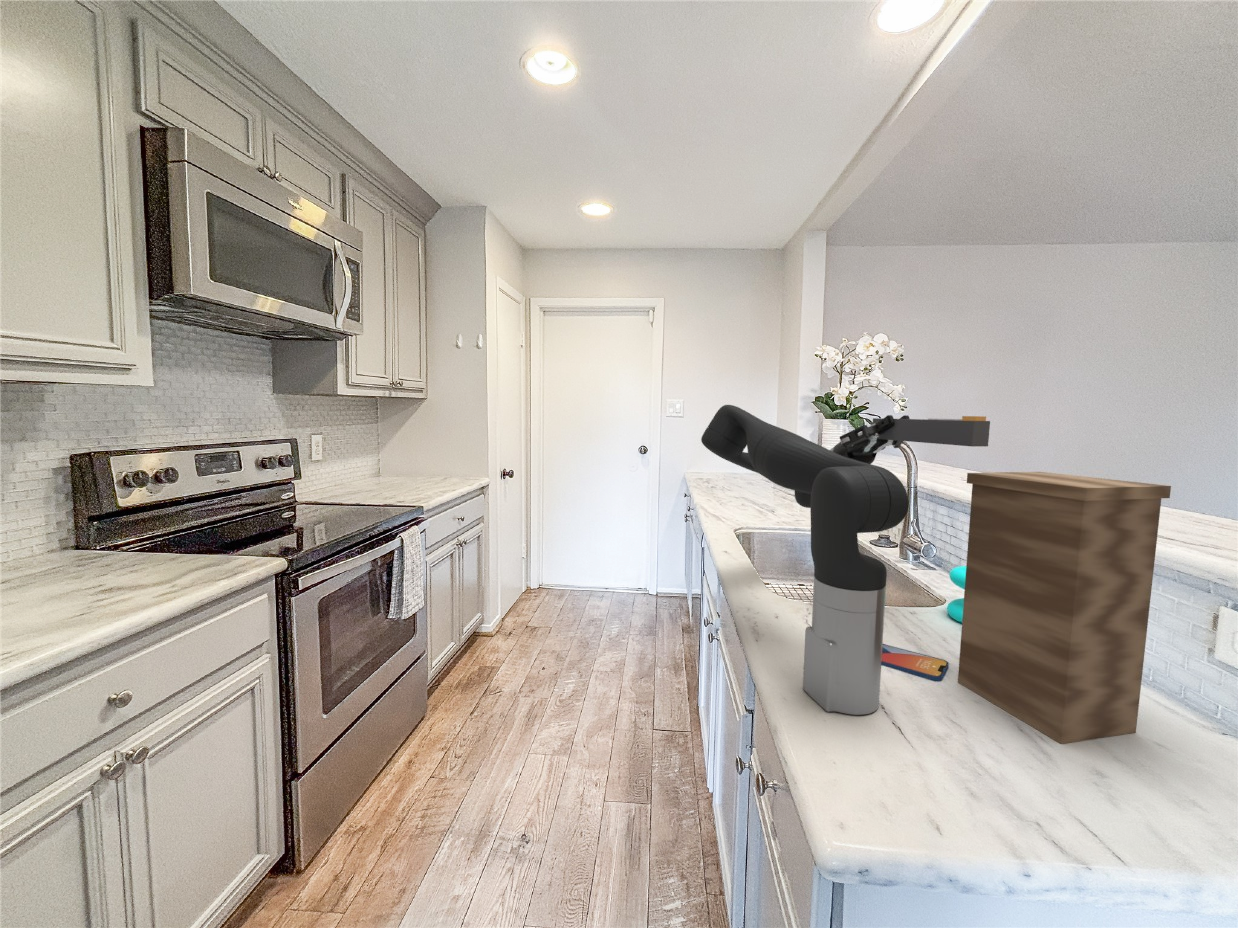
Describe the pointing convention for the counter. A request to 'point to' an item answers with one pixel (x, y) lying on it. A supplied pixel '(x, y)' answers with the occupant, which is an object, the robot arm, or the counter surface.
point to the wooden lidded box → (1059, 599)
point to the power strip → (940, 431)
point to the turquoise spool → (956, 605)
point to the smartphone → (914, 663)
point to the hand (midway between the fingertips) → (900, 419)
